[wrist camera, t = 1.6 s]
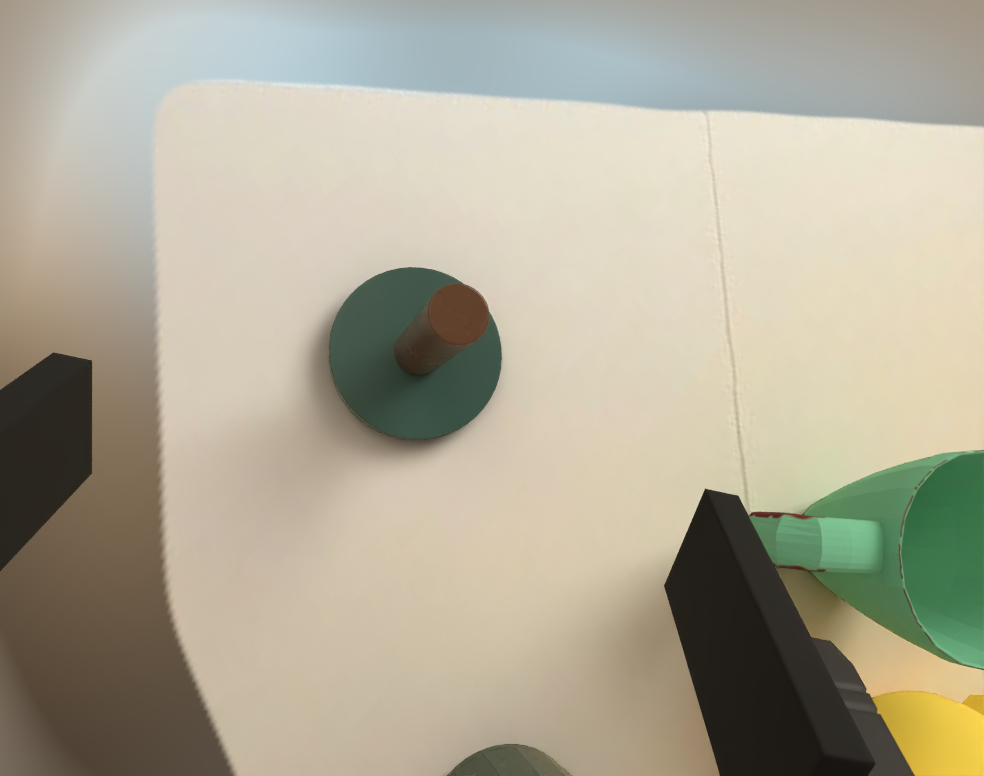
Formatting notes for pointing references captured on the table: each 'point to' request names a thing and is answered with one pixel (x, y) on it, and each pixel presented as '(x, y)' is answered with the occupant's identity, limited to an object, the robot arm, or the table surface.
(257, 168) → the table surface
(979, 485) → the mug
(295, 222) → the table surface
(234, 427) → the table surface
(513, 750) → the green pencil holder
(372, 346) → the ring toss peg stand
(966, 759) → the teapot
